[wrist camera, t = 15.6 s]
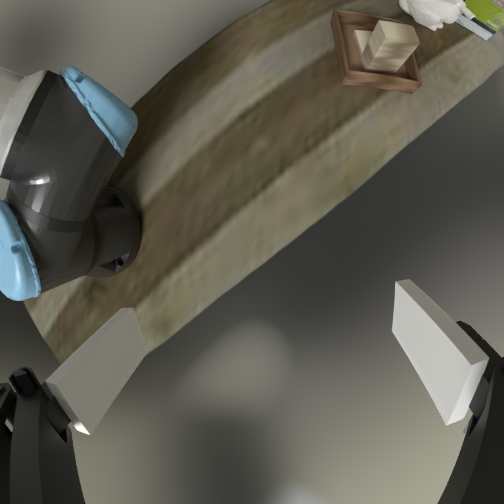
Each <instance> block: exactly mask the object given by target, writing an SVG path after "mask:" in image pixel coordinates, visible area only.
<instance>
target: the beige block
mask: <svg viewBox="0 0 504 504" xmlns="http://www.w3.org/2000/svg"><path fill="white" fill-rule="evenodd" d="M353 37H354V40H355V43H356V46H357V49H358V52H359V55H360V59H361V62H362V66H363V69H364V72H367V73H375V74H385V75H394V74H395V73H396V72H397V70H398V69H399V68H400V67H401V66H402V64H403V63H404V62H405V61H406V60H407V58H408V57H409V56H410V55H411V54H412V53H413V51H414V50H415V49H416V48H417V47H418V45H419V44H420V41H419V39H418V36H417V34H416V32H415V30H414V27H413V26H411V25H406V24H400V23H395V22H388V21H382V20H378V22H377V25H376V27H375V29H374V31H364V30H354V32H353Z"/></svg>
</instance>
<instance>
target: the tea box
mask: <svg viewBox="0 0 504 504" xmlns="http://www.w3.org/2000/svg"><path fill="white" fill-rule="evenodd" d="M463 1H464V2H465V4H466V8H468V9H469V10H470V11H471V12H472V13H473V14H474V15H475V16H476V17H473V18H472V19H470V20H468V19H467V18H466V17H465V15H464V14H461V15H458V18H457V20H456V21H455V22H457V23H459V24H461V25H462V26H464V27H466V28H467V29H469V30H471V31H472V32H474V33H475V34H477V35H479V36H480V37H482V38H483V39H485V40H488V39H489V38H490V37H491V36H492V35H494V34H495V33H496V32H497V31H498V30H500V29H501V28H502V27H503V26H504V0H463Z"/></svg>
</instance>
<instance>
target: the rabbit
mask: <svg viewBox="0 0 504 504" xmlns="http://www.w3.org/2000/svg"><path fill="white" fill-rule="evenodd" d="M399 5H400V7H401V8H402V9H403V10H404V11H405V12H406V13H408V14H410V15H411V16H412V17H413V18H414V20H415V21H416V22H417V23H419V24H422V25H424V26H426V27H428V28H430V29H431V30H433V31H436V30H437V28H443V23H442V22H444V23H448V24H450V23H454V22H455V21H456V20H457V18H458V15H461V14H464V15H465V17H466V18H467V19H468V20H470V19H472V18H473V17H476V16H475V15H474V14H473V13H472V12H471V11H470V10H469V9H468V8H466V4H465V2H464V1H463V0H399Z"/></svg>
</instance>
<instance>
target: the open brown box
mask: <svg viewBox="0 0 504 504" xmlns="http://www.w3.org/2000/svg"><path fill="white" fill-rule="evenodd" d="M378 20H382V21H388V22H395V23H400V24H404V21H400V20H396V19H391V18H387V17H382V16H377V15H371V14H365V13H359V12H352V11H343V10H333V14H332V19H331V27H332V31H333V36H334V42H335V47H336V53H337V59H338V65H339V71H340V78H341V84H344V85H356V86H365V87H374V88H381V89H388V90H394V91H400V92H406V93H411V94H412V93H413V92H414V91H416V90H417V89H418V88H419V87H420V86H422V82H421V78H420V74H419V70H418V66H417V62H416V58H415V55H414V51H413V53H412V54H411V55H410V56H409V57H408V58H407V60H406V61H405V62H404V63H403V64H402V66H401V67H400V68H399V69H398V70H397V72H396V73H395V74H394V75H385V74H375V73H367V72H364V69H363V66H362V62H361V59H360V55H359V52H358V49H357V46H356V43H355V40H354V37H353V32H354V30H364V31H374V29H375V27H376V25H377V22H378Z"/></svg>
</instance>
